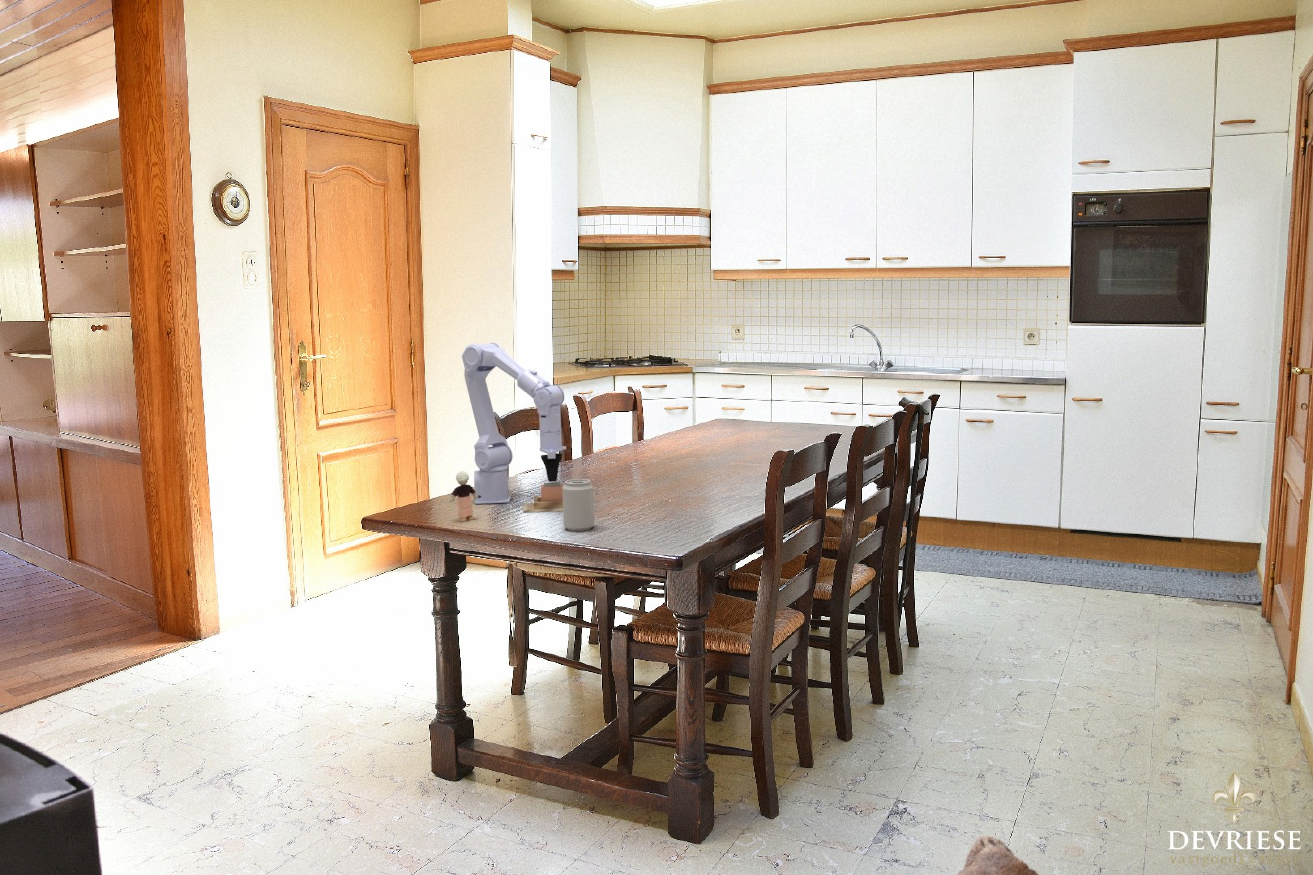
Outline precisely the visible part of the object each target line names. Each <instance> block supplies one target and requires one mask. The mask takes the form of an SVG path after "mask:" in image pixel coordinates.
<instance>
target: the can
mask: <svg viewBox="0 0 1313 875" xmlns="http://www.w3.org/2000/svg"><path fill="white" fill-rule="evenodd" d="M562 492H563V511H562V514H563V515H562V517H563V526H564V528H565V529H566V530H568V531H572V532H583V531H589V530H591V529H592V527H593V526H594V525H595V509H594V508H595V504H594V501H595V500H594V486H593V485H592V484H591V480H590V479H586V478H571V479H567V480H565V481H564V484H563V488H562Z"/></svg>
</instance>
